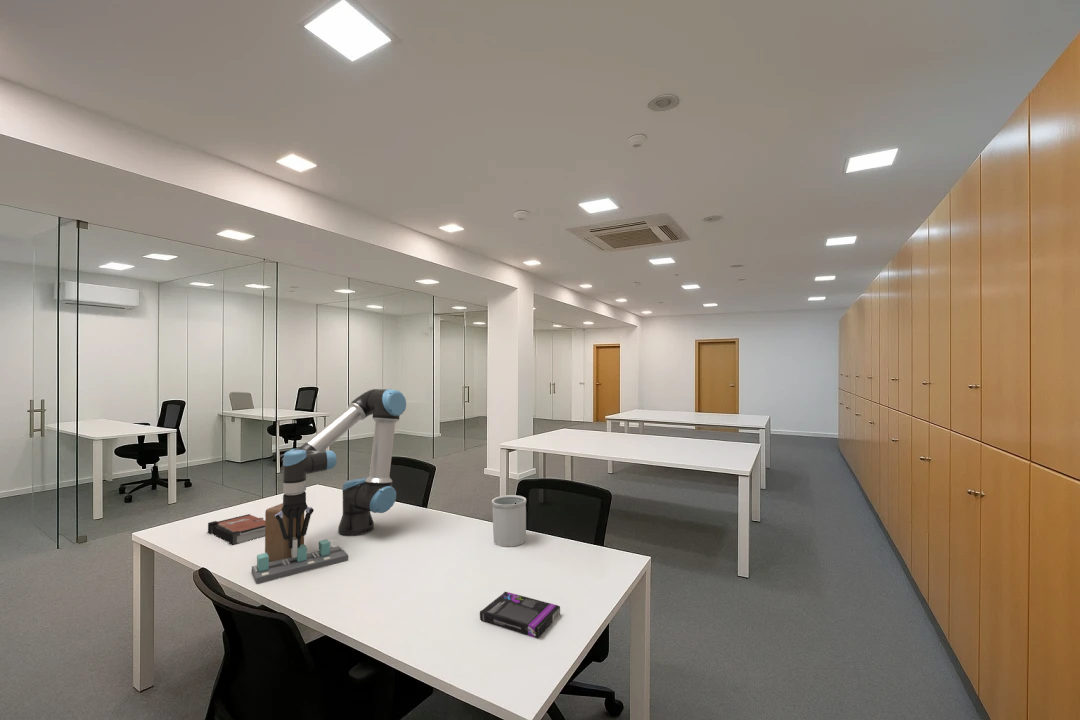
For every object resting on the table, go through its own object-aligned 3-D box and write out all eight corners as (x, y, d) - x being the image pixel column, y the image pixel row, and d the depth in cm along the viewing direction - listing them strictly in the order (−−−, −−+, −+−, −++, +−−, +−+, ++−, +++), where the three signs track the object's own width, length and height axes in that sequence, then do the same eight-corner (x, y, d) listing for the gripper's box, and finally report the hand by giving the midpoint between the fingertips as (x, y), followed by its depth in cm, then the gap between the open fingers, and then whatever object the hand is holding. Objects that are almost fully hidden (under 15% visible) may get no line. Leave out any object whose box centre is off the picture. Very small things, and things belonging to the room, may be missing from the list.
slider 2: (304, 556, 170) (304, 544, 171) (306, 560, 167) (306, 547, 167) (295, 558, 169) (295, 546, 169) (297, 562, 165) (297, 549, 165)
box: (560, 617, 133) (504, 600, 142) (560, 605, 133) (505, 589, 142) (537, 641, 120) (478, 621, 130) (538, 628, 121) (479, 609, 130)
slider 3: (326, 550, 176) (327, 539, 176) (330, 554, 172) (330, 542, 172) (318, 552, 174) (318, 540, 174) (321, 556, 170) (321, 544, 170)
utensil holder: (485, 544, 187) (485, 502, 187) (501, 532, 201) (501, 493, 201) (517, 549, 181) (517, 506, 182) (532, 537, 195) (531, 496, 195)
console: (339, 550, 181) (339, 544, 181) (348, 560, 172) (348, 553, 172) (251, 572, 162) (251, 564, 162) (256, 584, 153) (256, 576, 153)
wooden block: (286, 564, 169) (286, 510, 169) (263, 561, 171) (264, 509, 171) (305, 553, 179) (305, 502, 179) (283, 551, 181) (284, 501, 181)
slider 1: (266, 565, 163) (266, 552, 163) (268, 569, 159) (268, 556, 159) (256, 567, 161) (257, 554, 161) (258, 571, 157) (258, 558, 157)
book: (276, 534, 202) (276, 522, 202) (232, 546, 187) (232, 534, 187) (250, 523, 217) (250, 512, 217) (207, 534, 202) (208, 522, 202)
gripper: (311, 487, 174) (311, 548, 174) (272, 493, 166) (272, 557, 165) (316, 491, 168) (315, 554, 168) (276, 497, 160) (276, 564, 159)
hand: (294, 556), depth 166 cm, fingers closed
